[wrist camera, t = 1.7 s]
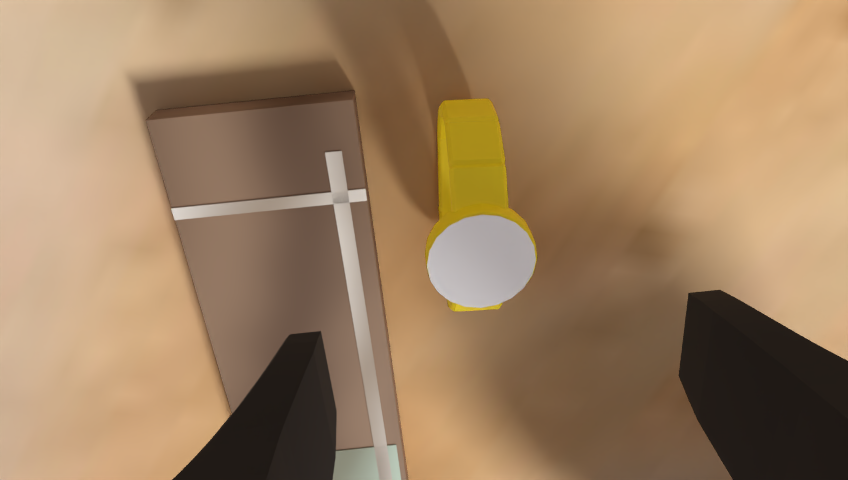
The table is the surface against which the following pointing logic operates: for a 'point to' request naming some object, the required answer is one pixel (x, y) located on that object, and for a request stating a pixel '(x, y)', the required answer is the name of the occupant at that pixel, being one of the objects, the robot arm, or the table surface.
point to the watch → (476, 213)
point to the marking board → (287, 253)
